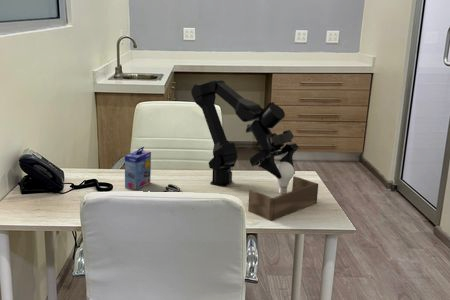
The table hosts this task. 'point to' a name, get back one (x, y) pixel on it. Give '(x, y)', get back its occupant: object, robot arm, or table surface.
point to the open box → (284, 200)
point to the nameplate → (172, 188)
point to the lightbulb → (284, 176)
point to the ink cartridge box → (137, 169)
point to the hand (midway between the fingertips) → (287, 176)
